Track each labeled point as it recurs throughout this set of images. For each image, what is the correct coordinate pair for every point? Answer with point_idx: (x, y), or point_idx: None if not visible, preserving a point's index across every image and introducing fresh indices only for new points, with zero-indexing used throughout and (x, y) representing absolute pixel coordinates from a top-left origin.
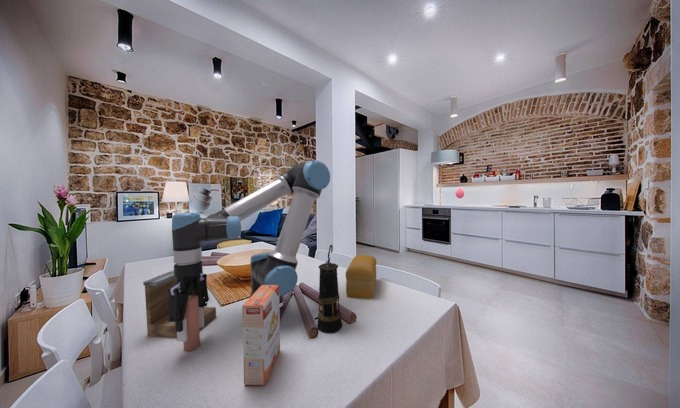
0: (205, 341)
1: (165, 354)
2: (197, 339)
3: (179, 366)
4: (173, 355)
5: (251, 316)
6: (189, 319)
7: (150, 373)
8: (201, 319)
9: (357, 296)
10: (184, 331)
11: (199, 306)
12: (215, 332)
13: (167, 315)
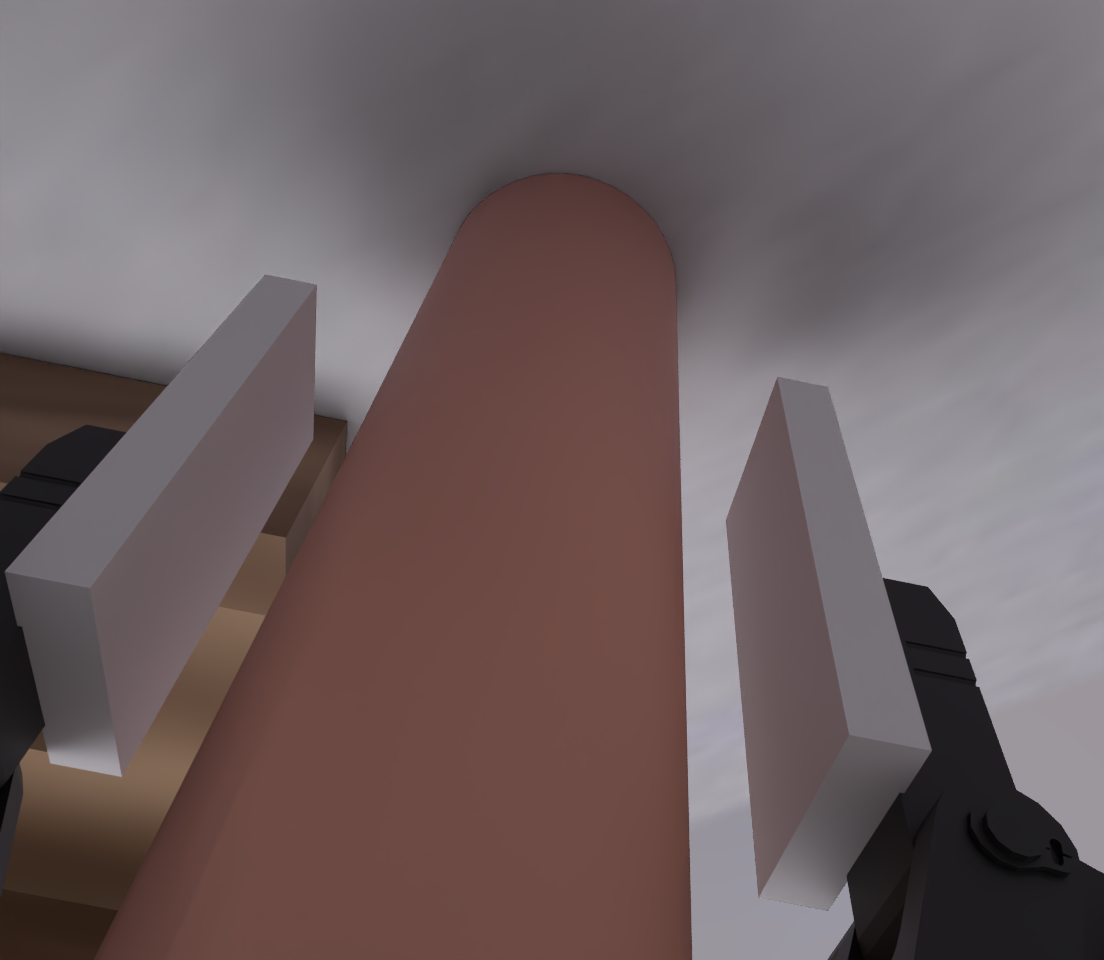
0: (412, 130)
1: (696, 546)
2: (582, 233)
3: (1055, 235)
4: (739, 446)
5: None
6: (680, 640)
7: (1070, 526)
8: (249, 396)
9: None
10: (861, 524)
11: (19, 694)
12: (123, 69)
13: (50, 889)
